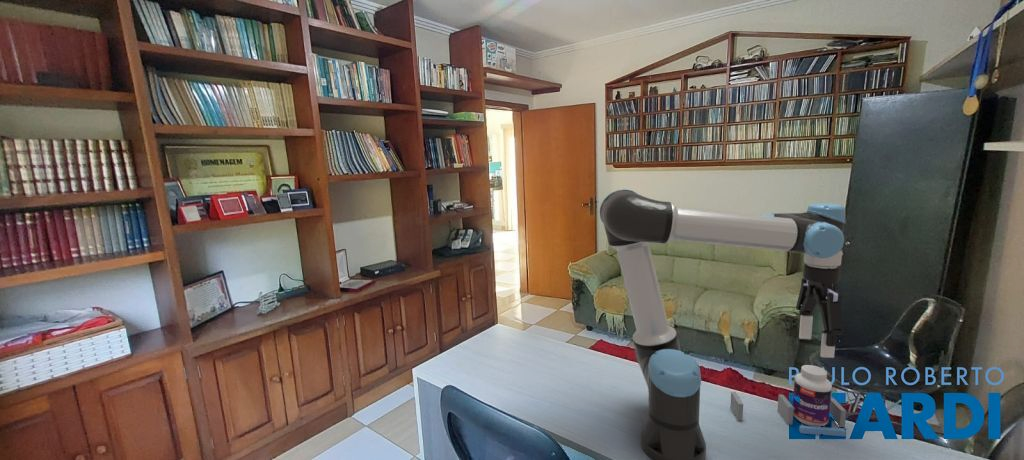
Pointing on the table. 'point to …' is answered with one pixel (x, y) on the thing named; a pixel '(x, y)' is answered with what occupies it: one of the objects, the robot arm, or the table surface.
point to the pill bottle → (812, 396)
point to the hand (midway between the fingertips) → (815, 347)
